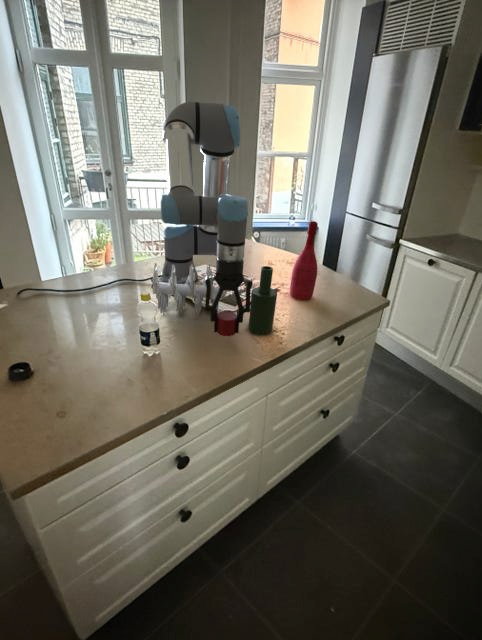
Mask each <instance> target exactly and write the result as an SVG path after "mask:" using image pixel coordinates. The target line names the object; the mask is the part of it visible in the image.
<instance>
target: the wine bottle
mask: <svg viewBox="0 0 482 640" xmlns="http://www.w3.org/2000/svg"><path fill="white" fill-rule="evenodd" d="M317 230H318V222H317V221H315V220H311V221H308V228H307V231H306V234H307V237H306V241H305V244H304V246H303V248H302V250H301V252H300V253H299V254H298V257H297V258H296V259H295V262H294V265H293V267H292V272H291V278H290V285H289V296H290V297H291V298H292V299H294V300H297V301H309V300H311V299H312V298H313V295H314V290H315V287H316V282H317V278H318V261H317V257H316V252H315V239H316V238H315V237H316V234H317Z"/></svg>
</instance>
